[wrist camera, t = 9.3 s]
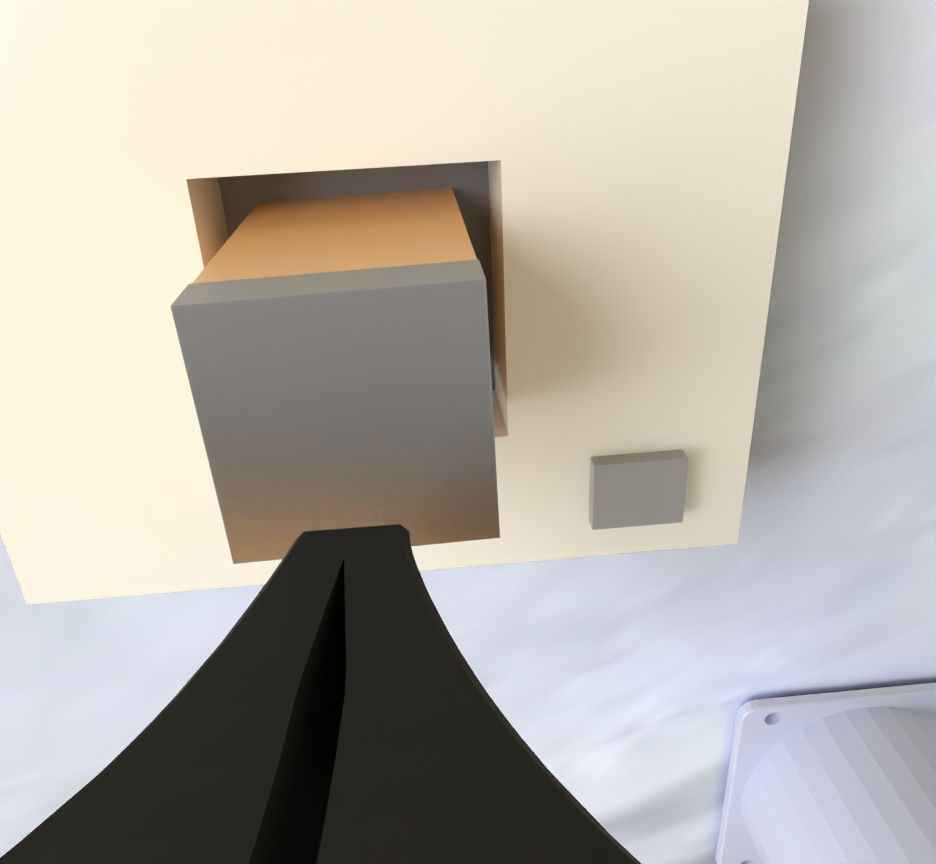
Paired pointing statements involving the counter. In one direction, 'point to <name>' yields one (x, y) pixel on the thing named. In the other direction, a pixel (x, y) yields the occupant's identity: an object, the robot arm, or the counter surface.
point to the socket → (376, 171)
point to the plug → (344, 372)
